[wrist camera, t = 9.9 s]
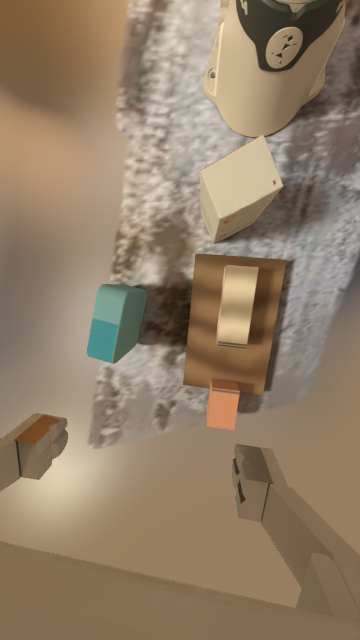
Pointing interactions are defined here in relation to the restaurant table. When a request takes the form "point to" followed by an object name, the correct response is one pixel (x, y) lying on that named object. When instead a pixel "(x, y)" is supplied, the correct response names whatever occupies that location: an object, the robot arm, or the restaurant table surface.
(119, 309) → the data package
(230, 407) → the orange rectangular block
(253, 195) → the small box
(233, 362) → the board
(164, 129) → the restaurant table surface
